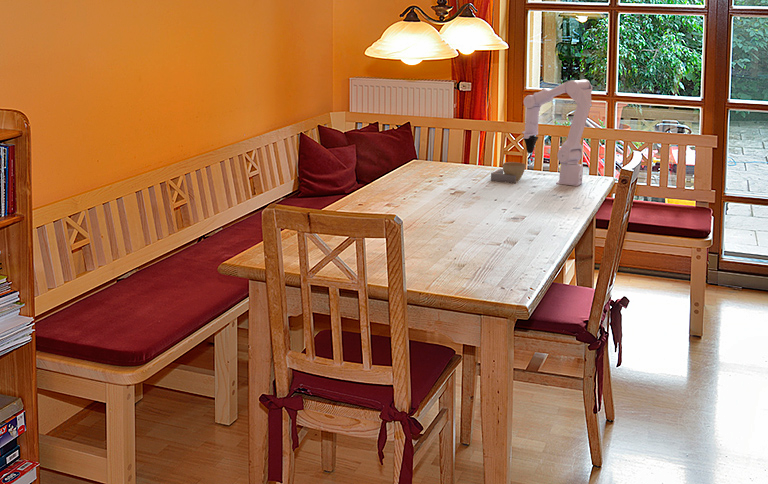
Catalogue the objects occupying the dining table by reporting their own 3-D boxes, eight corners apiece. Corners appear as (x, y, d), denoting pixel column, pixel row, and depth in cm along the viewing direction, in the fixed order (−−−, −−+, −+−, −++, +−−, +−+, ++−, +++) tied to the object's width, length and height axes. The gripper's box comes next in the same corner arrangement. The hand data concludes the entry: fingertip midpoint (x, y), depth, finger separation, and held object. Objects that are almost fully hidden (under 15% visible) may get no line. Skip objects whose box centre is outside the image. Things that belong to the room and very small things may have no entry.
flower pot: (497, 179, 364) (498, 162, 362) (516, 177, 368) (517, 161, 366) (510, 183, 356) (511, 166, 354) (529, 181, 360) (530, 165, 358)
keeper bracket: (523, 179, 365) (524, 171, 364) (514, 183, 354) (515, 175, 353) (500, 176, 370) (500, 168, 369) (490, 181, 359) (491, 173, 358)
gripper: (528, 120, 375) (526, 149, 378) (517, 123, 362) (516, 154, 366) (543, 121, 372) (541, 151, 375) (533, 124, 359) (531, 155, 363)
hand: (529, 152), depth 371 cm, fingers closed
